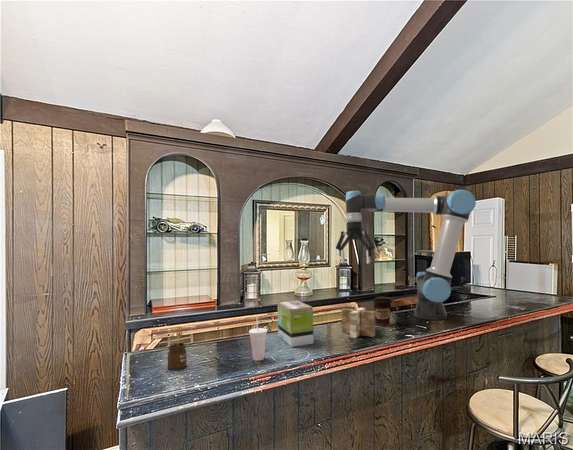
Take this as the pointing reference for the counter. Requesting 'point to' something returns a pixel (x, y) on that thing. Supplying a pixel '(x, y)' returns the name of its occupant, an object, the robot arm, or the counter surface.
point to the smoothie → (258, 342)
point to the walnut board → (365, 325)
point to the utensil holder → (177, 354)
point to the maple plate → (355, 322)
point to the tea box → (295, 323)
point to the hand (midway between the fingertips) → (355, 263)
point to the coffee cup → (382, 310)
